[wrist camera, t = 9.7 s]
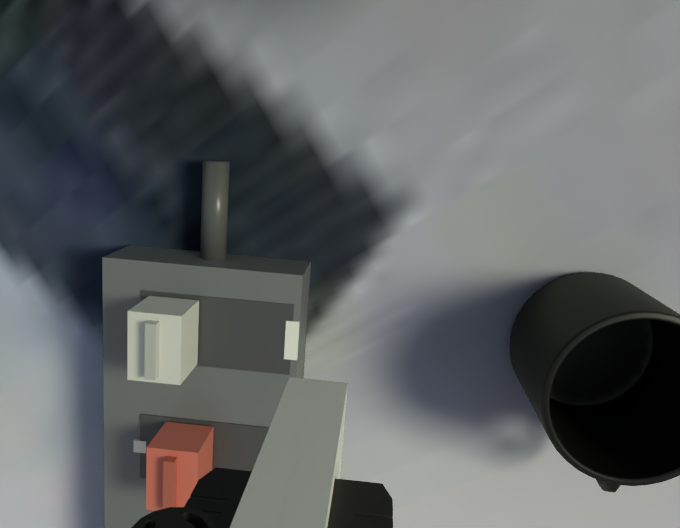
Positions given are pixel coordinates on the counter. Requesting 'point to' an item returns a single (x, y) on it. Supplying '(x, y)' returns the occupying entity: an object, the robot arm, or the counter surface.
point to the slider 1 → (162, 340)
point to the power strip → (200, 349)
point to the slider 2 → (177, 463)
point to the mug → (603, 377)
